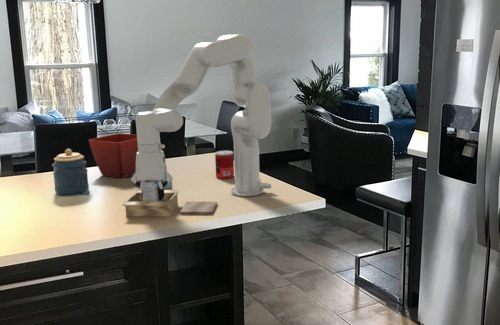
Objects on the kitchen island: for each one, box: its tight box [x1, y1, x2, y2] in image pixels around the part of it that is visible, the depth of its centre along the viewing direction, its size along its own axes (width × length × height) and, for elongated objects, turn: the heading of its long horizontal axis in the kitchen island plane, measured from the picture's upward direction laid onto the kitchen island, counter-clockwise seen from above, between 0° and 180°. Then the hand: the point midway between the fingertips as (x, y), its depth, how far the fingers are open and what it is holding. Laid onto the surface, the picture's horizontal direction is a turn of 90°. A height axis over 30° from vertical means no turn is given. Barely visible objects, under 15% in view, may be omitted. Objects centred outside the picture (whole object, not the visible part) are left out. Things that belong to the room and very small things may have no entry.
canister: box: [51, 148, 90, 197], centre depth 213 cm, size 13×13×18 cm
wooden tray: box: [122, 189, 180, 217], centre depth 188 cm, size 15×18×5 cm
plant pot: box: [88, 132, 138, 179], centre depth 243 cm, size 19×19×17 cm
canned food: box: [214, 150, 235, 180], centre depth 233 cm, size 8×8×11 cm
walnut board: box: [179, 201, 218, 216], centre depth 189 cm, size 11×12×1 cm
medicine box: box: [142, 181, 164, 202], centre depth 187 cm, size 8×4×9 cm, turn 169°
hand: (153, 198), depth 188 cm, fingers closed on medicine box, 4 cm apart
